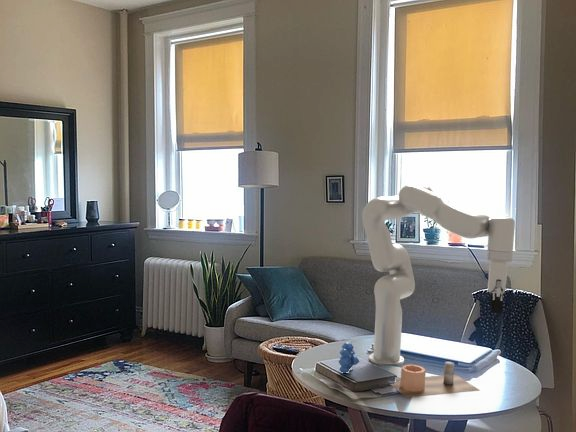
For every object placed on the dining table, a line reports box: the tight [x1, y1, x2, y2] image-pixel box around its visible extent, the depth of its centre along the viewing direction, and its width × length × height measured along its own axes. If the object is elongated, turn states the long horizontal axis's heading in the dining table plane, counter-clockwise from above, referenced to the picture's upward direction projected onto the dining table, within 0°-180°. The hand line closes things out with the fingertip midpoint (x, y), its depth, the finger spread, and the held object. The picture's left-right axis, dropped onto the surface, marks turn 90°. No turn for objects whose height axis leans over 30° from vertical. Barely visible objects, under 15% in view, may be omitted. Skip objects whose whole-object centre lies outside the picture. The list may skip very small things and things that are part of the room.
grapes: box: [338, 342, 360, 373], centre depth 196 cm, size 12×7×12 cm, turn 159°
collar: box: [400, 364, 427, 392], centre depth 185 cm, size 7×7×6 cm
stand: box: [389, 361, 480, 398], centre depth 187 cm, size 14×26×8 cm, turn 107°
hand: (495, 309), depth 186 cm, fingers open, 9 cm apart
